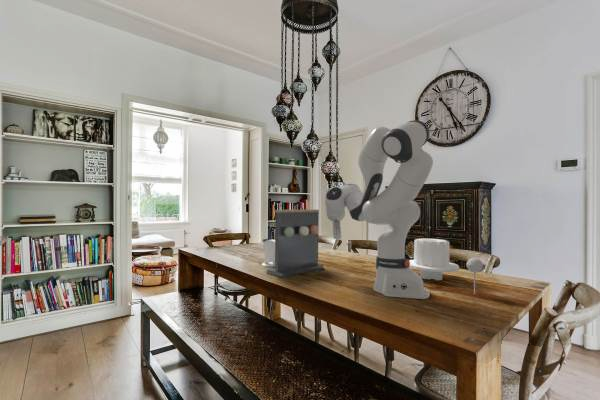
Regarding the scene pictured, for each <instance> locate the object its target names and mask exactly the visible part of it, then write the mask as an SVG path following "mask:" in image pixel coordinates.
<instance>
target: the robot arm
mask: <svg viewBox="0 0 600 400" xmlns="http://www.w3.org/2000/svg"><path fill="white" fill-rule="evenodd" d="M429 138H430V128H429V126H428V125H427V124H426V123H425V122H423V121H421V120H414V119H413V120H410V121H407V122H404V123H401V124H400V125H396V127H394V128H392V129H390V128H388V127H384V126H379V127H376V128H374V129H373V130H372V132H370V134H369V136H367V138H366V140H365V142H364V144H363V145H362V147H361V149H360V151H359V155H358V160H357V162H358V167H359V170H360V172H361V174H362V177H363V182H364V189H363V191H362V190H361V188H360V187H359V186H358V184H355V183H347V184H344V185H342V186H340V187H339V186H332V187H330V188H329V189H328V190H327V191H326V192H325V196H324V201H325V202H324V203H325V211H326V217H327V219H328V220H329V221H331V222H332V234H333V239H334V240H340V239H342V230H341V229H342V228H341V221H342V220H343V219H344V218H345V216H346V215H345V214H346V212H345V211H346V209H347V211H348V213H349V215H350V217H351V219H353V220H354V221H357V222H364V221H365V222H366V223H368V224H373V225H379V226H380V225H381V226H383V225H384V226H386V225H387V226H388V227H387V229H386V231H385V232H384V233H382V234H381V235H380V236H379V237H378V238H377V252H376V253H377V256H376V259H375V268H376V269H375V270H376V275H375V281H374V285H373V288H372V289H373V291H374V292H376V293H379V294H381V295H383V296H385V297H391V298H392V297H393V298H402V299H403V298H406V299H415V300H416V299H419V300H426V299H429V298H430V295H431V292H430V290H429V289H427V288H425V284H424V279H422V278H421V277H420V274H418V273H417V272H415V271H414V269H413V268H410V267H409V266H410V261H409V260H410V259H407V258H406V257H405V252H406V250H405V249H406V248H405V247H406V239H407V236H408V234H409V231H410V230H411V227H413V225H414V224H415V223H417V221H418V220H419V219H420V216H421V207H420V206H419V204H418V203H417V202H416V201H414V200H415V199H416V198H417V197H418V194H419V193H420V191H421V190H422V189H423V186H424V184H425V183H426V181H427V179H428V177H429V176H430V172H431V171H432V168H433V164H434V160H433V158H432V156H431V155H430V153H428V152H426V151H425V150H424V149H423V148H422V147H423V146H424V145H426V143H427V141H429ZM388 158H389V159H392V160H393V161H394V162H395V163H398V164H400V165H399V167H398V168H397V171H396V172H395V174H394V176H393V178H392V179H391V181H390V183H389V184H388V186H386V188H384V190H383V191H382V192H380V193H379V191H380V189H381V187H382V183H383V179H384V176H383V175H384V169H385V164H386V163H387V160H388ZM345 208H346V209H345Z"/></svg>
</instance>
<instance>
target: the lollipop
mask: <svg viewBox="0 0 600 400" xmlns="http://www.w3.org/2000/svg"><path fill="white" fill-rule="evenodd" d="M466 268H467V269H468V270H469V271H470V272H472V273H473V295H474V294H475V295H476V273H479V272H481V271H482V270H483V268H484V264H483V262H482V261H481V260H480V259H479V258H476V257H471V258H469V259H468V260H467V261H466Z"/></svg>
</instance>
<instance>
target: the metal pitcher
mask: <svg viewBox="0 0 600 400" xmlns="http://www.w3.org/2000/svg"><path fill="white" fill-rule="evenodd" d="M262 243H263V245H262V252H263V253H264V262H263V263H261V266H262V267H271V268H272V267H273V268H275V239H269V238H263V239H262Z"/></svg>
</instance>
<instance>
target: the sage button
mask: <svg viewBox="0 0 600 400" xmlns="http://www.w3.org/2000/svg"><path fill="white" fill-rule="evenodd" d="M283 233H284V235H285V236H288V237H292V236H293V235H294V229H293V228H292V227H285V228H284V231H283Z"/></svg>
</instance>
